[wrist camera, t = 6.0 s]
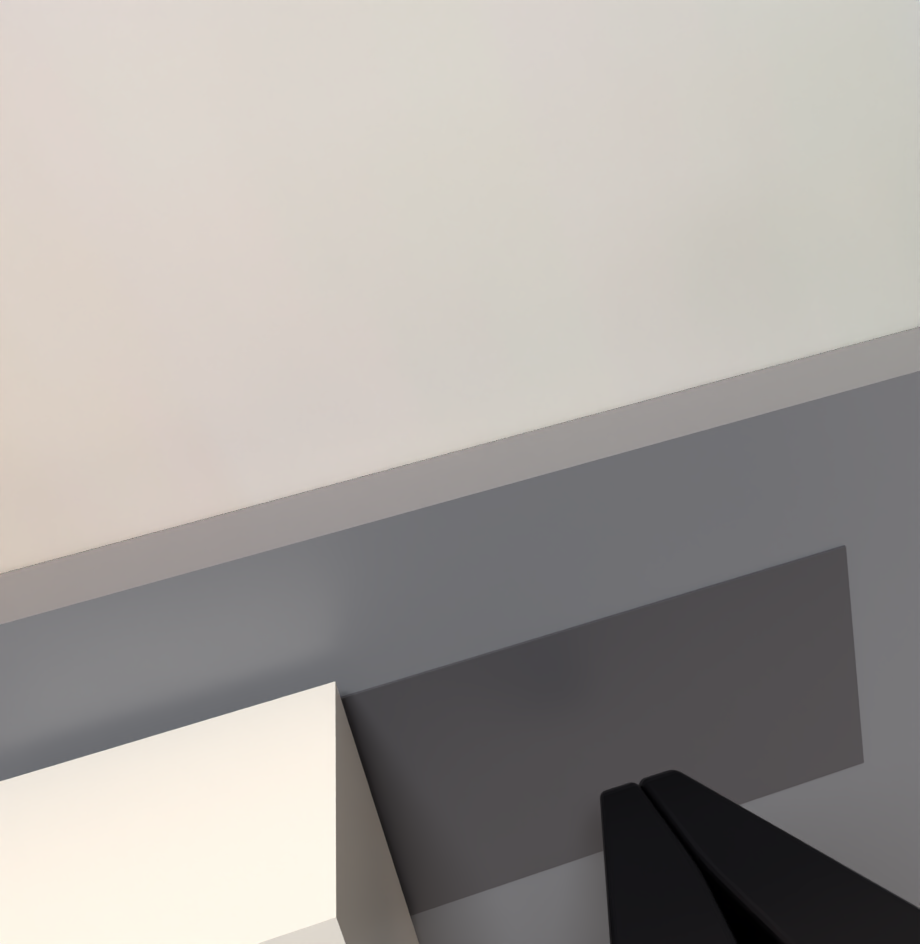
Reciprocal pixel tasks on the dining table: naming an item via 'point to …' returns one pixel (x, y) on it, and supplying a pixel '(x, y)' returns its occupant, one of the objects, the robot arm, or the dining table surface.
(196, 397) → the dining table surface
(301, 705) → the tab
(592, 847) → the switch panel
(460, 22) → the dining table surface
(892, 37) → the dining table surface
